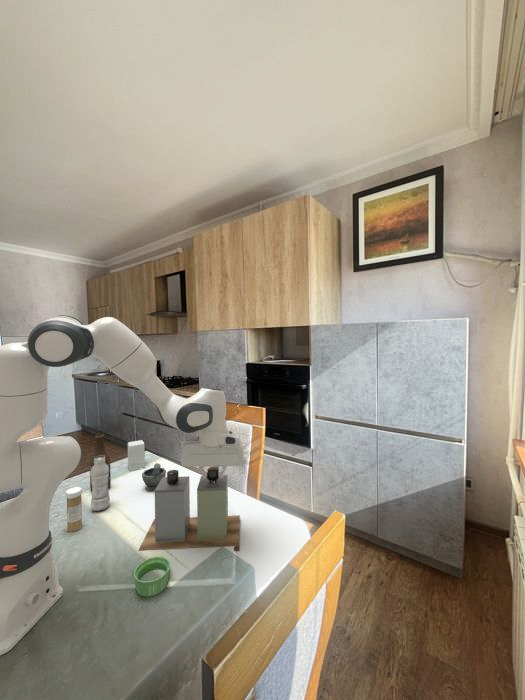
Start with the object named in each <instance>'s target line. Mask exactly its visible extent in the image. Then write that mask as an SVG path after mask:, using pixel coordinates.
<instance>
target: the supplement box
mask: <svg viewBox="0 0 525 700" xmlns="http://www.w3.org/2000/svg"><path fill="white" fill-rule="evenodd" d="M145 446H146V445H145V442H144V441H143V440H142V439H139V440H134V441H130V442H129V441H128V442H127V468H128V471H129V472H132V470H133V471H137V470H136V469H138V470H141V469H140V468H143V469H145V468H146V461H145V459H146V458H145V457H146V453H145V450H146V449H145Z"/></svg>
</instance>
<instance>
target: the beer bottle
mask: <svg viewBox="0 0 525 700" xmlns="http://www.w3.org/2000/svg"><path fill="white" fill-rule="evenodd" d="M105 437H106V436H105V434H102V433H99V434H96V435H95V436H94V439H95V440H94V441H95V442H94V445H95V446H94V454H93V456H92V457H91V459H90V461H89V472H90V471H91V469H92V467H93V466H94V464H95V463H94V458H95V457H96V456H100V455H104V456H105V463H106V464H107V465H108V467H109V475H108V491H109V490H110V488H111V483H112V482H111V479H112V477H111V459H110V456H109V455H108V454H107V453H106V448H105V446H106V445H105ZM89 487H90V488H89V489H90V492H91V493H92V481H91V476H90V475H89Z"/></svg>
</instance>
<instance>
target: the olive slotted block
mask: <svg viewBox="0 0 525 700" xmlns="http://www.w3.org/2000/svg"><path fill="white" fill-rule="evenodd" d="M228 478H229V476H228V474H223V479H217V480H215V483H212V481H209V480H208V479H205V480H203V479H202V475H201V476H200V479H199V482H198V484H197V489H196V501H197V502H196V503H197V504H196V505H197V506H196V507H197V508H196V509H197V511H196V513H197V515H196V517H197V528H198V540H213V539H227V527H228V516H229V506H228V505H229V500H228V499H229V495H228V493H229V492H228V490H229V489H228V488H229V487H228V484H229V483H228V481H229V480H228Z"/></svg>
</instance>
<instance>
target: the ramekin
mask: <svg viewBox="0 0 525 700" xmlns="http://www.w3.org/2000/svg"><path fill="white" fill-rule="evenodd" d="M156 569H157V570H163V571H164V572H165V573H164V574H163V575H161V576H160V577H158V578H156V579H151V580H147V581H146V580H145V581H144V580H140V578H141V577H142V576H143V575H144V574H146V573H147V572H148V571H152V570H156ZM170 570H171V562H170V560H169V559H168V558H167V557H164V556H161V555H159V556H157V555H156V556H152V557H148V558H146V559H144V560H142V561H141V562H140V563H139V564H137V566H135V568H134V571H133V578H134V583H135V590H136V592H137V594H138V595H140V596H141V597H147V598H148V597H154V596H155V595H158V594H160V593H161V592H163V591H164V590H165V589H166V588H167V586H168V583H169V576H170Z"/></svg>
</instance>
